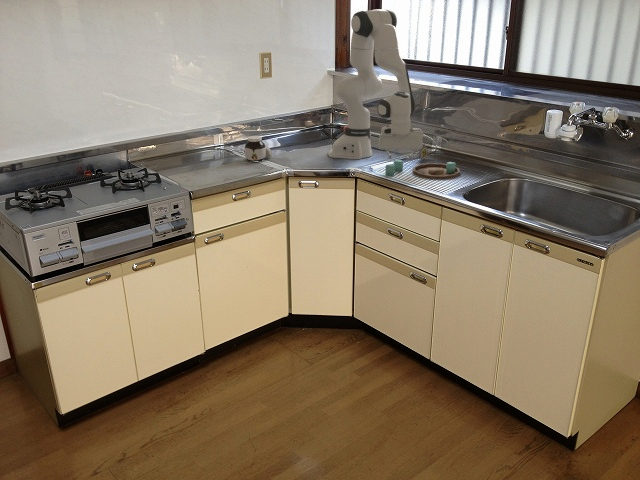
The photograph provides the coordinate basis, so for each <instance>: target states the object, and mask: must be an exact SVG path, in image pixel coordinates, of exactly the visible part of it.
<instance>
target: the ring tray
mask: <svg viewBox="0 0 640 480" xmlns="http://www.w3.org/2000/svg"><path fill="white" fill-rule="evenodd" d="M446 165H447V163H440V162H439V163H437V162H435V163H433V162H427V163H421V164H420V163H419V164H417V165H414V166H412V174H413V175H415V176H416V177H418V178H422V179H429V180H450V179H455V178H457V177H459V176H460V175H461V170H460V168H459V167H457V166H455V173H454V174H447V173H446Z"/></svg>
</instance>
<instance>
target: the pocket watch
mask: <svg viewBox="0 0 640 480" xmlns="http://www.w3.org/2000/svg"><path fill="white" fill-rule="evenodd" d="M422 143H423V147H422V149H419V151H418V159H420V160H421V162H422V163H423V164H427V163H428V162H432V163H437V160H435V159H431V158H430V159H429V158H427V157H428V155H429V148H428V147H427V146H425V145H426V141H423V140H422Z"/></svg>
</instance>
